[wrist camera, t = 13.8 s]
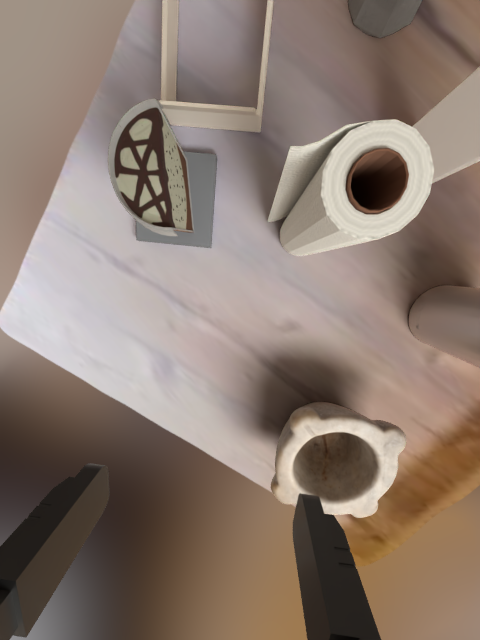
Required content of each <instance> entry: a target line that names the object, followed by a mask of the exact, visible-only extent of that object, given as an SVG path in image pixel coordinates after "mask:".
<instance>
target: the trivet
mask: <svg viewBox="0 0 480 640" xmlns="http://www.w3.org/2000/svg"><path fill="white" fill-rule="evenodd" d="M184 154H185V156H186V158H187V162H188V172H189V183H190V193H191V203H192V213H193V224H194V233H188V232H181V231H174V232H175V233H176V234H177V235H178V236H166V235H161V234H158V233H155V232H153V231H151V230H149V229H147V228H145V227H144V226H143V225H141V224H140V223H139V222H138V221H136V238H137V240H138V241H145V242H155V243H165V244H175V245H186V246H196V247H206V248H211V244H212V229H213V214H214V199H215V184H216V169H217V156H216V154H207V153H195V152H184Z"/></svg>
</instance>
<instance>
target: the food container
mask: <svg viewBox="0 0 480 640" xmlns="http://www.w3.org/2000/svg"><path fill="white" fill-rule="evenodd" d="M162 109H163V106H162V104H161V103H160V102H159V101H158V100H156V98H153V99H148V100H145V101H143V102H141V103H138V104H137V105H135V106H134V107H132V108H131V109H130V110H128V111H127V112H126V113H125V114H124V115H123V117H122V118H121V119H120V121H119V122H118V123H117V125H116V127H115V129H114V131H113V134H112V137H111V140H110V144H109V150H108V169H109V175H110V179H111V183H112V185H113V188H114V190H115V193H116V195H117V197H118V199H119V201H120V202H121V204H122V205H123V207H124V208H125V209H126V211H127V212H128V213H129V214H130V215H131V216H132V217H133V218H134V219H135V220H136V221H138V222H139V223H140V224H141V225H143V226H144V227H145V228H147V229H149V230H151V231H153V232H155V233H158V234H161V235H166V236H178V235H177V234H176V233H175V232H174V231H181V232H188V233H194V224H193V213H192V203H191V193H190V183H189V172H188V162H187V158H186V156H185V154H184V152H183V150H182V148H181V146H180V145H179V143H178V141H177V139H176V137H175V135H174V133H173V131H172V129H171V127H170V125H169V123H168V121H167V119H166V117H165V115H164V113H163V111H162Z"/></svg>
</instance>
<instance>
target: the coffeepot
mask: <svg viewBox="0 0 480 640" xmlns="http://www.w3.org/2000/svg"><path fill="white" fill-rule="evenodd" d="M421 2H422V0H348V6H349V11H350V14H351V17H352V19H353V23H354V25H355V26H356V27H358V28H359V29H360V30H361V31H362V32H364V33H365V34H368V35H370V36H374V37H378V38H382V37H385V36H388V35H391V34H394V33H395V32H397V31H399V30H400V29H401V28H403V27H405V26H407V25H409V24H411V22H412V20H413V18H414V16H415V14H416V12H417V10H418V8H419V6H420V4H421Z"/></svg>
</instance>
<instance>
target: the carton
mask: <svg viewBox="0 0 480 640" xmlns="http://www.w3.org/2000/svg"><path fill="white" fill-rule="evenodd" d="M273 7H274V0H268V1H267V12H266V22H265V32H264V42H263V52H262V63H261V73H260V83H259V93H258V104H257V109H255V108H253V107H240V106H227V105H214V104H201V103H188V102H176V86H177V50H178V14H179V0H162V62H161V100H158V101H159V102H160V103H161V104H162V106H163V109H162V111H163V112H164V114H165V116H166V117H167V119H168V121H169V123H170V124H171V125H174V126H186V127H198V128H211V129H223V130H235V131H248V132H260V133H261V123H262V113H263V104H264V94H265V84H266V75H267V65H268V55H269V45H270V36H271V26H272V16H273Z"/></svg>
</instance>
